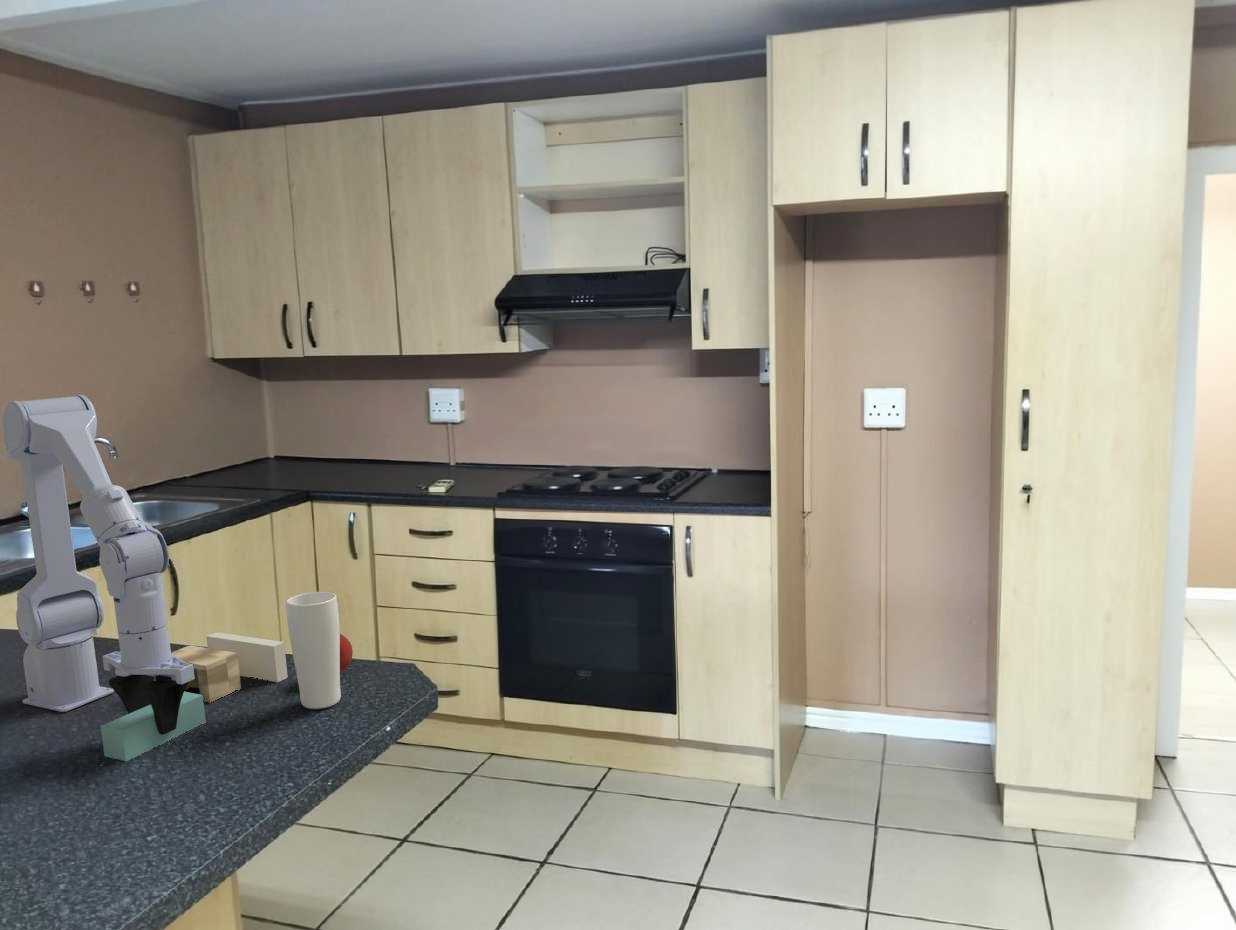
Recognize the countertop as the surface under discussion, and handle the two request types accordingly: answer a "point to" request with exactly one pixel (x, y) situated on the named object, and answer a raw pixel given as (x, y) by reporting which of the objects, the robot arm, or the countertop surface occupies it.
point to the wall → (253, 655)
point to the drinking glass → (315, 647)
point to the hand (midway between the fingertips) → (155, 728)
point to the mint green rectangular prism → (148, 729)
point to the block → (211, 671)
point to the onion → (345, 653)
